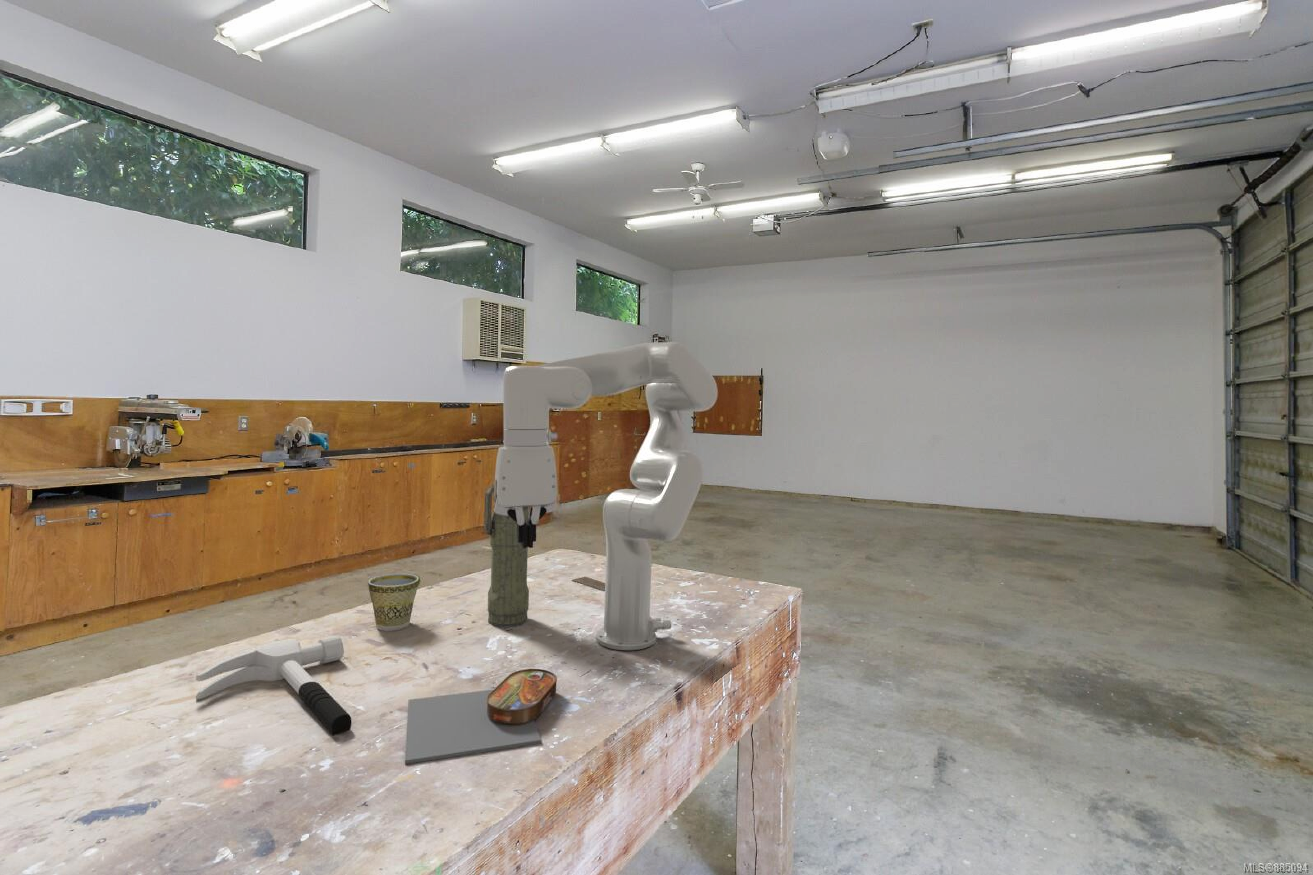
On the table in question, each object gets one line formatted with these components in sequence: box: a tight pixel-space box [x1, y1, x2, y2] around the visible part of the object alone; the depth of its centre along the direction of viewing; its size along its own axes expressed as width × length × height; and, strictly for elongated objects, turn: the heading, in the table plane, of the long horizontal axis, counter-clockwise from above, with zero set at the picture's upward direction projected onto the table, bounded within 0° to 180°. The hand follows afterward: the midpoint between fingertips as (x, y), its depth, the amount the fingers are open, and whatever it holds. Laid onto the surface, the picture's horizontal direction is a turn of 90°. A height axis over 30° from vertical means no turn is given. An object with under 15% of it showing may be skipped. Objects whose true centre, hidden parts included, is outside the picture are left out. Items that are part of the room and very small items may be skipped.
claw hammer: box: [195, 635, 352, 736], centre depth 98 cm, size 5×22×30 cm
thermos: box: [483, 477, 530, 628], centre depth 138 cm, size 9×12×35 cm
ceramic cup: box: [367, 573, 421, 632], centre depth 134 cm, size 13×10×10 cm
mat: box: [404, 689, 542, 765], centre depth 94 cm, size 18×18×1 cm
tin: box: [487, 668, 558, 724], centre depth 99 cm, size 15×3×8 cm
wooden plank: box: [571, 576, 605, 592], centre depth 169 cm, size 17×1×5 cm
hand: (526, 546), depth 106 cm, fingers closed
